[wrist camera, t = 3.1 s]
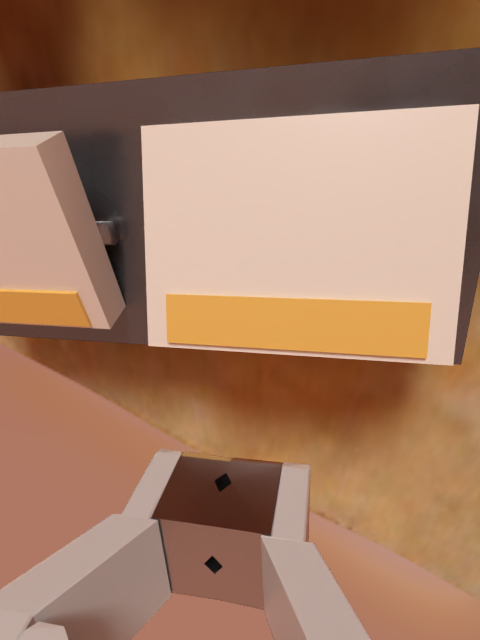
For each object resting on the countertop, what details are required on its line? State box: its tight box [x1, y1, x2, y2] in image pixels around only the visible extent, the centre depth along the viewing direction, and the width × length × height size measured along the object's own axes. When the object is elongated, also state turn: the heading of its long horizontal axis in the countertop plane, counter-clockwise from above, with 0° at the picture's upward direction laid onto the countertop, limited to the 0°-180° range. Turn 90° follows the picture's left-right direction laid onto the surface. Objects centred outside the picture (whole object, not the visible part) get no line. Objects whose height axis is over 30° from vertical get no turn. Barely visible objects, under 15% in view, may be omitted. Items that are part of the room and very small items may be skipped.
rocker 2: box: [141, 104, 479, 366], centre depth 13 cm, size 10×7×2 cm
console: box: [0, 48, 480, 365], centre depth 18 cm, size 24×10×7 cm, turn 93°
